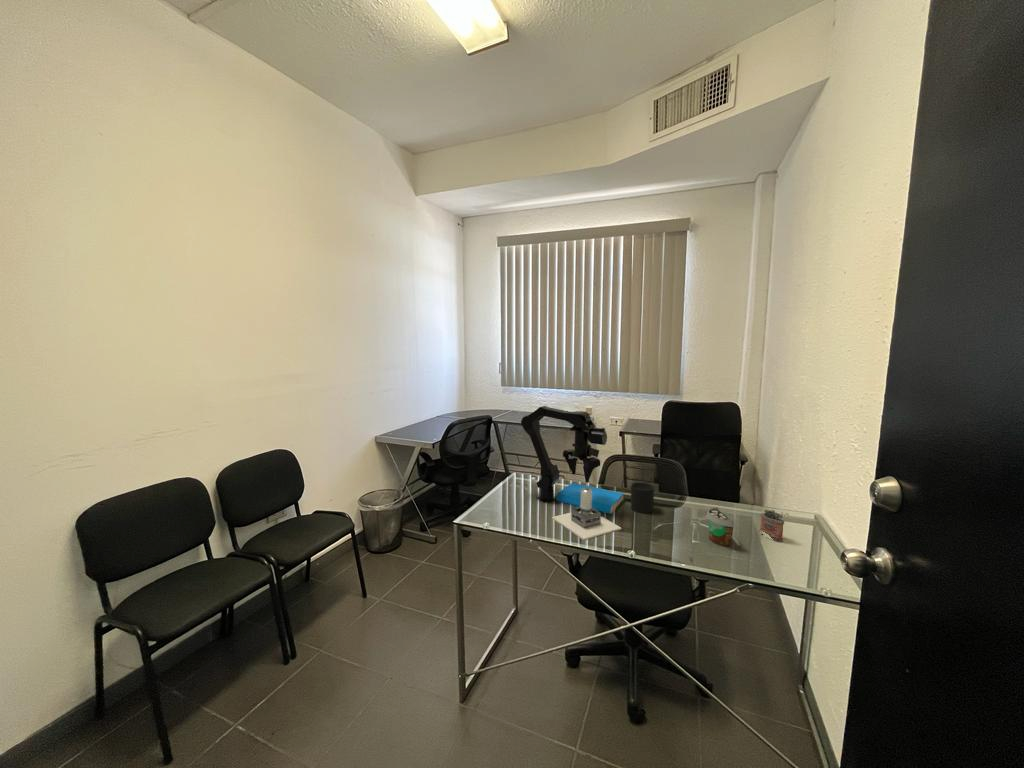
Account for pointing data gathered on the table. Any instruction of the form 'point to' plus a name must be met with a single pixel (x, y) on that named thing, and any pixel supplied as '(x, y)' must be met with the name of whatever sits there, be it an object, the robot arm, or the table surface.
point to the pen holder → (642, 497)
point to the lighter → (772, 524)
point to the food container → (719, 527)
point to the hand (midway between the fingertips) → (580, 477)
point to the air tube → (586, 502)
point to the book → (600, 497)
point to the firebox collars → (585, 518)
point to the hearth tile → (587, 532)
